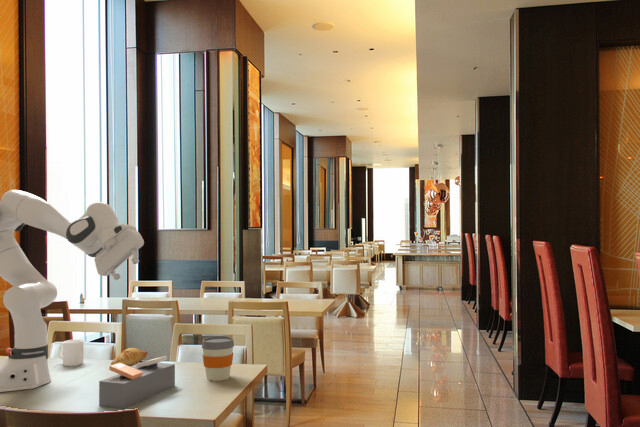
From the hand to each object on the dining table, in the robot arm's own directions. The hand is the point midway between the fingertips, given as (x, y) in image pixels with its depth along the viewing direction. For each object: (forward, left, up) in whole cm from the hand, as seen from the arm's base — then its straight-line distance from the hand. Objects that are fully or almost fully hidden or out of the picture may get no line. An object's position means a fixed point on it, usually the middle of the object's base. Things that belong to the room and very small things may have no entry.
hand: (127, 270), depth 185 cm
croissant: (+15, +55, -44) cm, 73 cm away
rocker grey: (+11, +6, -34) cm, 36 cm away
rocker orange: (-1, -2, -34) cm, 34 cm away
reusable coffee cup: (+37, +7, -44) cm, 58 cm away
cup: (-7, +69, -44) cm, 83 cm away
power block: (+5, +2, -44) cm, 44 cm away
